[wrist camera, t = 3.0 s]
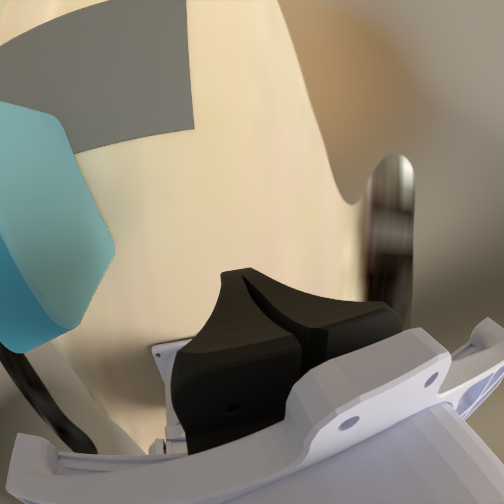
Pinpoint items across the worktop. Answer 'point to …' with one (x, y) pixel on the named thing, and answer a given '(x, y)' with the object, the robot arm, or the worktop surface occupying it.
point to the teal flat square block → (45, 232)
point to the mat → (105, 71)
